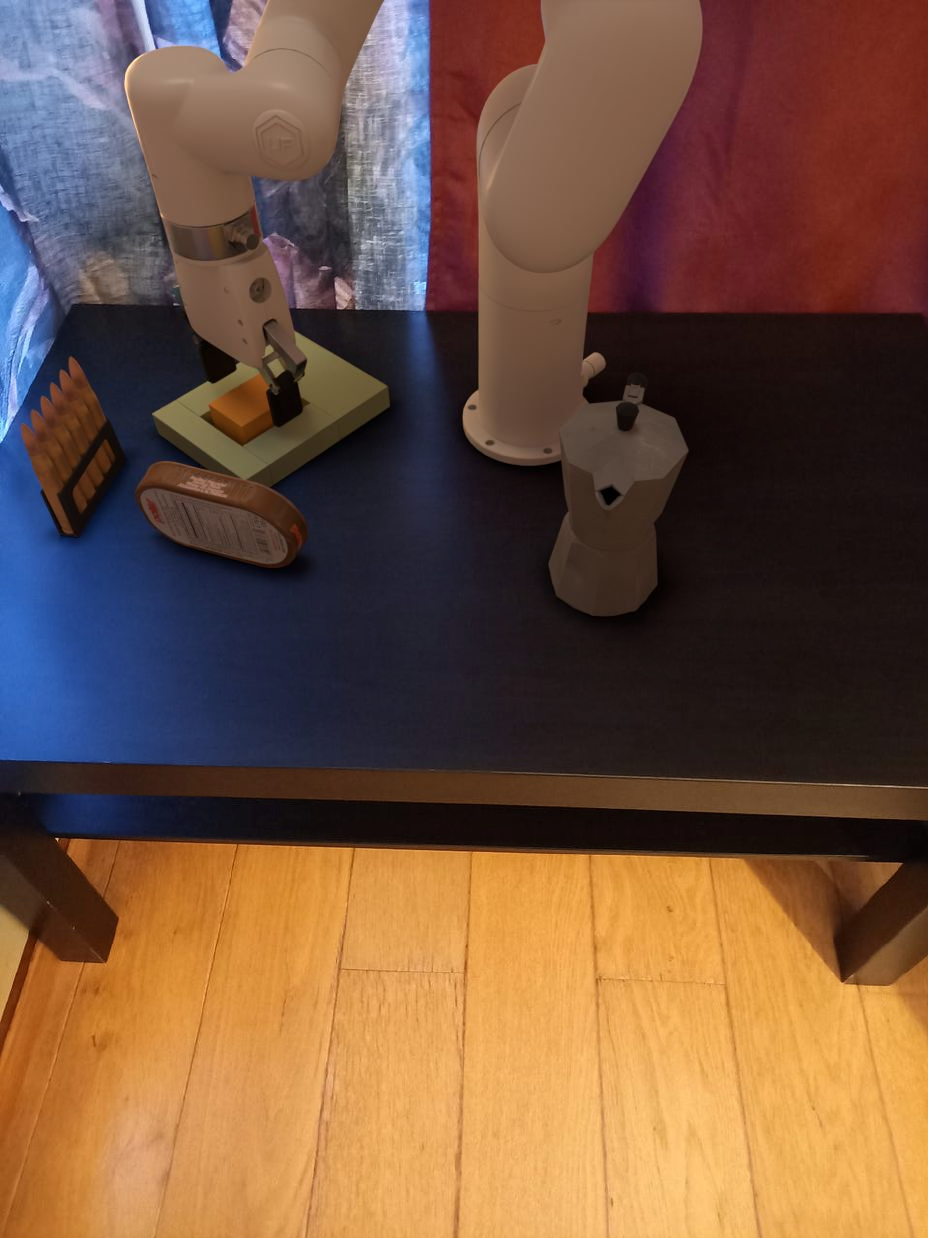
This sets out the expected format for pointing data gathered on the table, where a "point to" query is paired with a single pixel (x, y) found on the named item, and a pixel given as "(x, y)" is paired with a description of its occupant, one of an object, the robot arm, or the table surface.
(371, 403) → the olive rectangular frame
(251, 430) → the ochre box
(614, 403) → the coffeepot
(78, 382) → the ammunition clip
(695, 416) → the table surface
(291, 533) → the tin
